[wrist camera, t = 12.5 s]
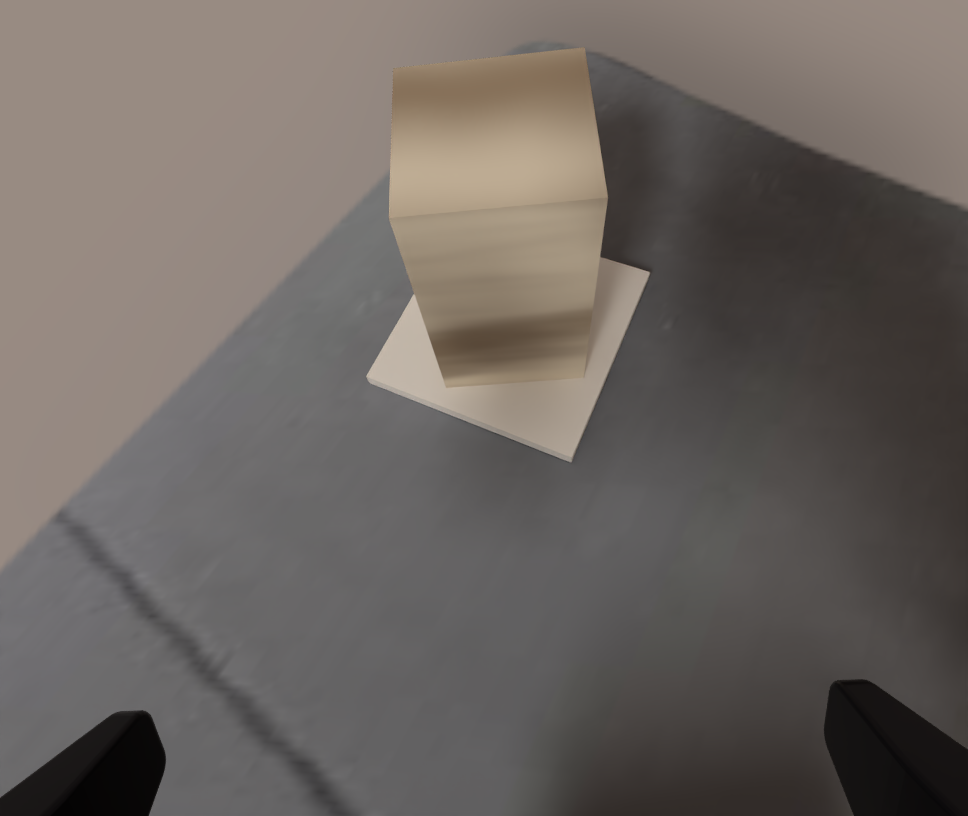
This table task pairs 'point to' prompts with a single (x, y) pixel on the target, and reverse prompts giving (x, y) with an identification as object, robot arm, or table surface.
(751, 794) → the table surface
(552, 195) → the brass block
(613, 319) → the cream tile
